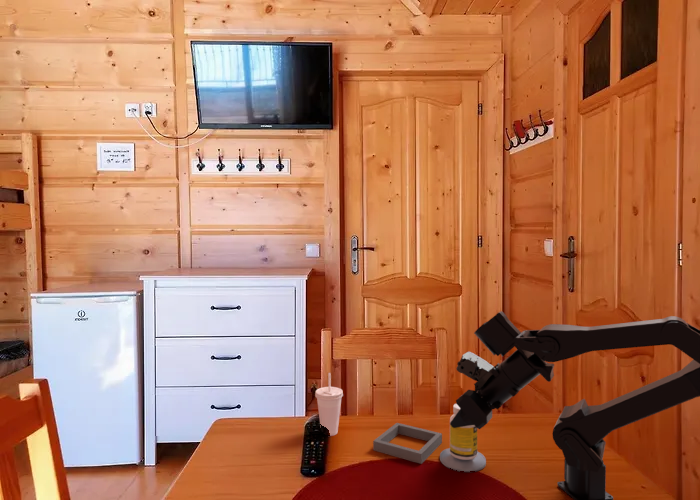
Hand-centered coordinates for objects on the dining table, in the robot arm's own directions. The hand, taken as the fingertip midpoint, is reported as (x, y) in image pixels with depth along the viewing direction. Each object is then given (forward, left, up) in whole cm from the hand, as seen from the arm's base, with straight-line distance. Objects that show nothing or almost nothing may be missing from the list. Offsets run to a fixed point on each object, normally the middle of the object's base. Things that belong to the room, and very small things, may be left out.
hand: (456, 420), depth 93 cm
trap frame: (+7, +8, -8) cm, 13 cm away
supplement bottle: (-1, -1, -7) cm, 7 cm away
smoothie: (+18, +23, -8) cm, 30 cm away
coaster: (-1, -1, -8) cm, 8 cm away
